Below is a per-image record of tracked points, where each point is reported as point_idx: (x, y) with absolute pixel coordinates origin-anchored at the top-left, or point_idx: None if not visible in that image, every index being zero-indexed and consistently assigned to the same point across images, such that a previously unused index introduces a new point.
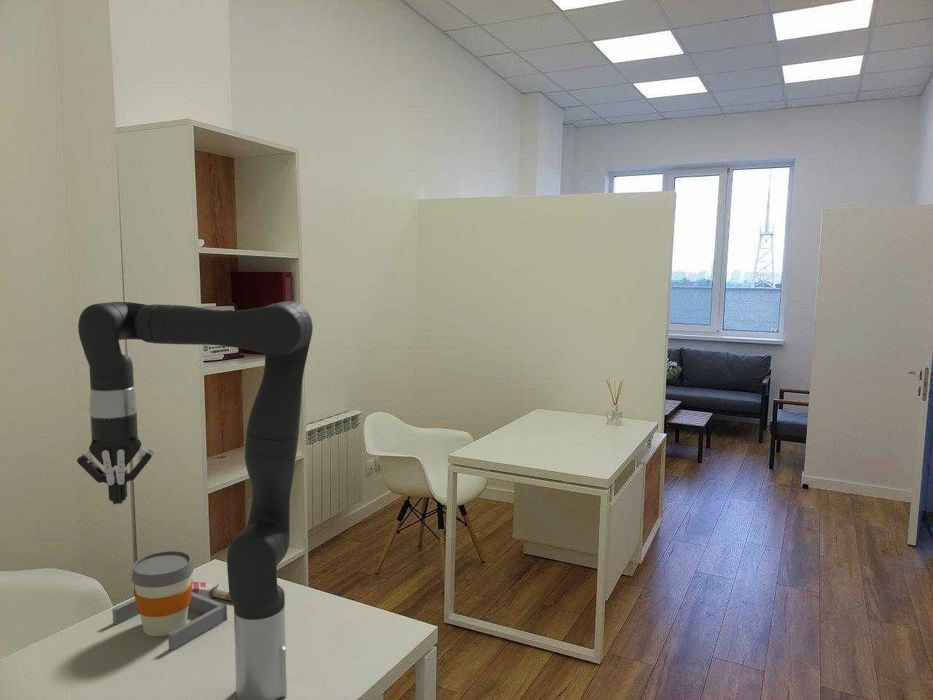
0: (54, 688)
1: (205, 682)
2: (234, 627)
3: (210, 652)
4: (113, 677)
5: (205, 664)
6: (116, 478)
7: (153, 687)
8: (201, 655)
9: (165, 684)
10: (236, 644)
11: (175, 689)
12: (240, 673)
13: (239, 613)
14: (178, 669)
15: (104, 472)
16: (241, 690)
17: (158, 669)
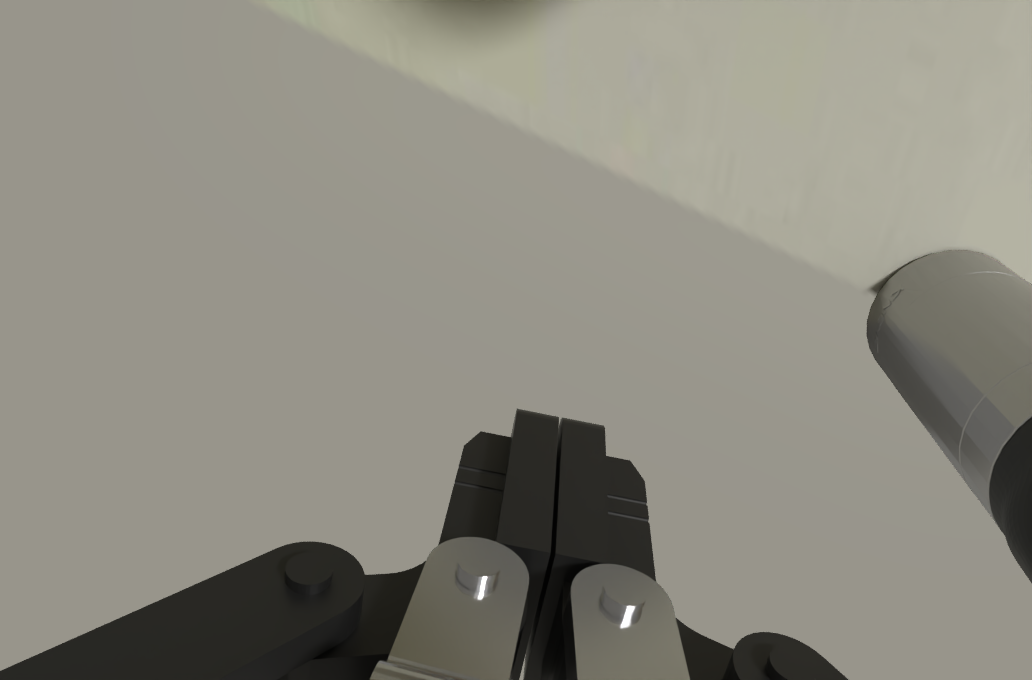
0: (355, 25)
1: (802, 202)
2: (960, 430)
3: (864, 19)
4: (531, 41)
5: (828, 95)
6: (519, 640)
7: (649, 159)
8: (829, 26)
9: (686, 159)
10: (935, 424)
11: (711, 199)
12: (903, 394)
13: (1001, 527)
14: (737, 86)
15: (318, 634)
16: (884, 370)
17: (674, 56)
